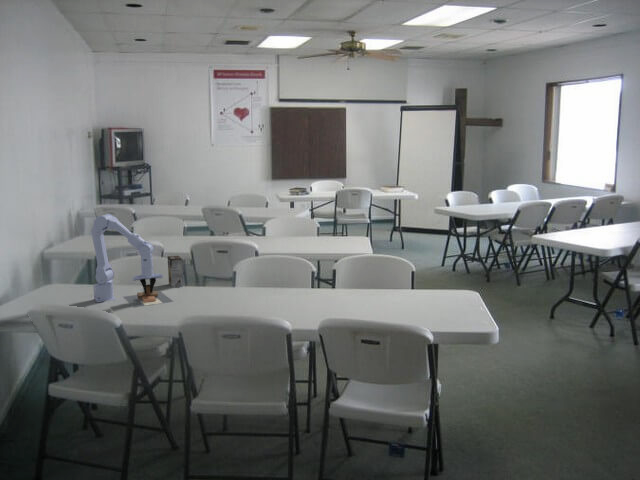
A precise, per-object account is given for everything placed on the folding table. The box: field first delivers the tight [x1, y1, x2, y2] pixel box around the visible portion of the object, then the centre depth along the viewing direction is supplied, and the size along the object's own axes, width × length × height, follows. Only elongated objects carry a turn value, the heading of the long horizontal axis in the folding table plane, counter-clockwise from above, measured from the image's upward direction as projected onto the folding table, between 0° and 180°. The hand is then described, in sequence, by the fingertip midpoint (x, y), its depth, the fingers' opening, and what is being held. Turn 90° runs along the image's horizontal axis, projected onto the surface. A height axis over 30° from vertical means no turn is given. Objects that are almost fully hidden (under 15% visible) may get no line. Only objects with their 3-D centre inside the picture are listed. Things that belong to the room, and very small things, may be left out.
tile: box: [142, 295, 156, 302], centre depth 314 cm, size 6×6×2 cm
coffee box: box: [167, 255, 184, 288], centre depth 344 cm, size 9×6×16 cm
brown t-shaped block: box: [136, 283, 159, 299], centre depth 316 cm, size 10×2×7 cm, turn 114°
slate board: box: [122, 291, 174, 308], centre depth 316 cm, size 20×22×1 cm
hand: (148, 293), depth 314 cm, fingers closed on brown t-shaped block, 2 cm apart
